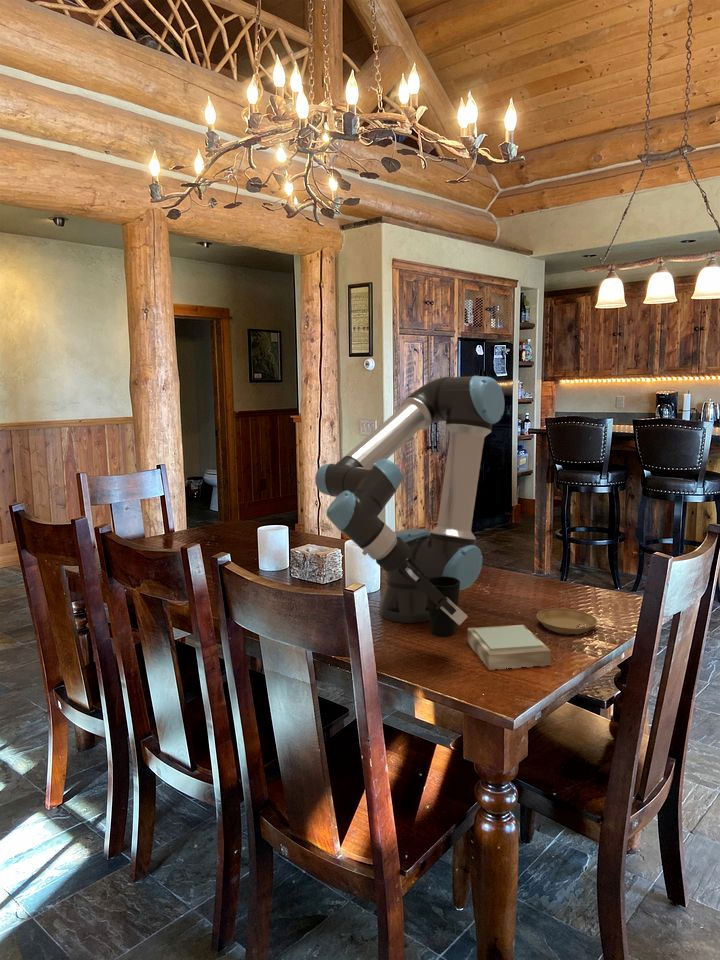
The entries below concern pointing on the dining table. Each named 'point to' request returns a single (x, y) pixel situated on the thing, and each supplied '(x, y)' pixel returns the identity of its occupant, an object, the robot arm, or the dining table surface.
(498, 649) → the stand
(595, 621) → the plant saucer
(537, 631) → the dining table surface
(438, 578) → the cup
